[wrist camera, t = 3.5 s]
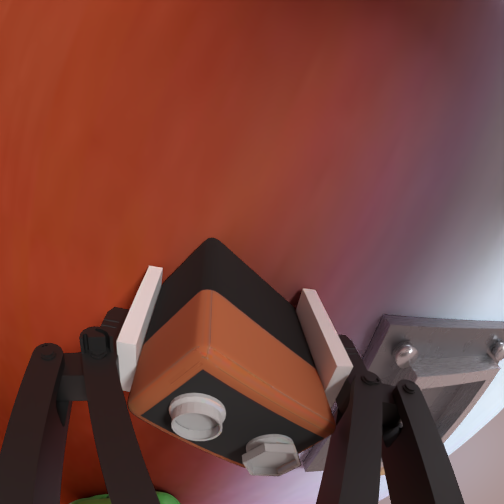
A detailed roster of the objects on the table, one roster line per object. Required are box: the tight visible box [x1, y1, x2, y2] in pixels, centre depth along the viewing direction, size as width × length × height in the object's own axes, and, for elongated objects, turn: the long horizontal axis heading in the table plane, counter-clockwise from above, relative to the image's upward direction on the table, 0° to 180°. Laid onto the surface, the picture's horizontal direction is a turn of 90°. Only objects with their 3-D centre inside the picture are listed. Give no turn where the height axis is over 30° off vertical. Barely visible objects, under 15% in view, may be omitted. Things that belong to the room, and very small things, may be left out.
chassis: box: [303, 315, 504, 475], centre depth 23 cm, size 18×16×3 cm
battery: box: [128, 238, 336, 476], centre depth 13 cm, size 4×7×10 cm, turn 44°
